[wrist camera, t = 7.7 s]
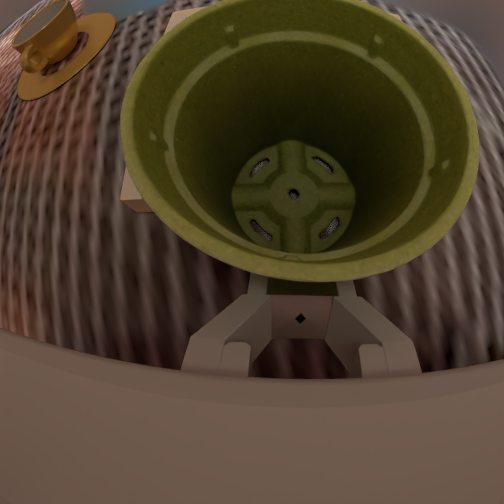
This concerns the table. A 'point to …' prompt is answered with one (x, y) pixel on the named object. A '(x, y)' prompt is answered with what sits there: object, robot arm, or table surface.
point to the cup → (57, 45)
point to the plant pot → (300, 137)
